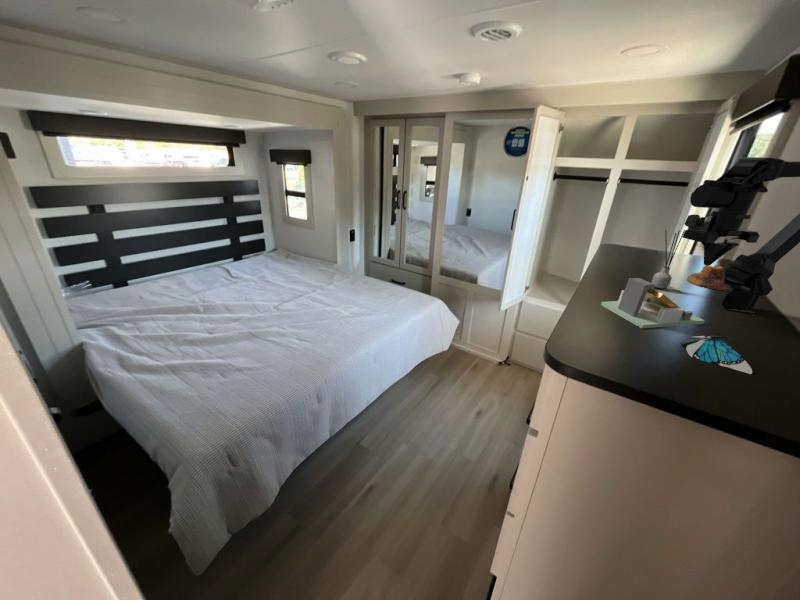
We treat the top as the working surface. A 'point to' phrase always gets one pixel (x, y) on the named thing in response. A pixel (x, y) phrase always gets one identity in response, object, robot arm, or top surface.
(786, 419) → the top surface
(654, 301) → the gold rectangular plate
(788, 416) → the top surface
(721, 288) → the brown piece
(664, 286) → the reed diffuser
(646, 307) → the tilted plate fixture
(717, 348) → the decorative butterfly
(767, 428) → the top surface
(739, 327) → the top surface
